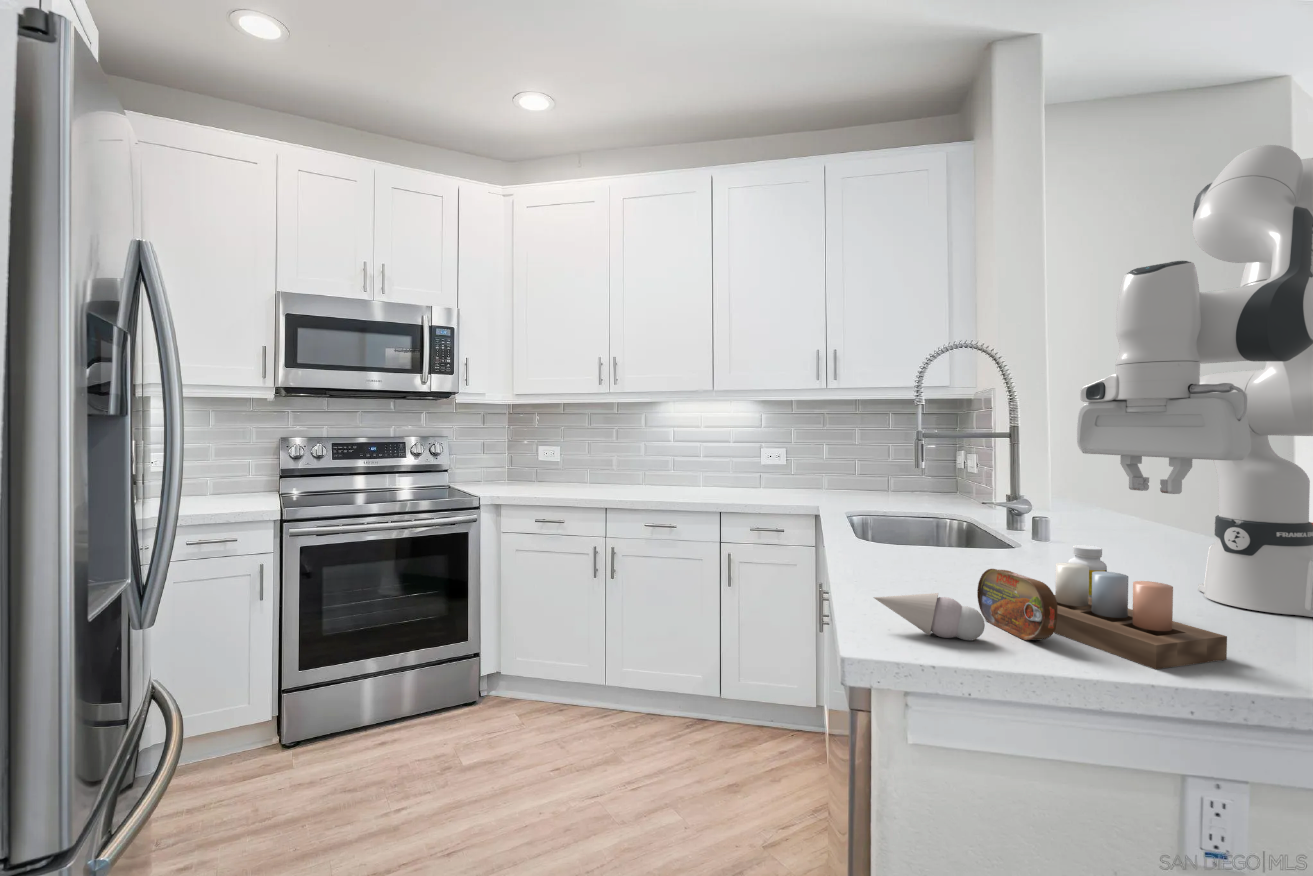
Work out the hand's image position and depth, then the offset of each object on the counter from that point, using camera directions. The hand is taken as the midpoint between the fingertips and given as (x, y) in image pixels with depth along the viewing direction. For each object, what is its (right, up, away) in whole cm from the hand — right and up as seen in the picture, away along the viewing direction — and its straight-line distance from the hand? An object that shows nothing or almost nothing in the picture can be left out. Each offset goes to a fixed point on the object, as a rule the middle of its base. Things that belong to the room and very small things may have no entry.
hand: (1154, 491), depth 86 cm
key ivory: (-3, -18, +12) cm, 21 cm away
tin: (-13, -21, +9) cm, 27 cm away
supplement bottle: (+5, -21, +22) cm, 31 cm away
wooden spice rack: (-2, -21, +6) cm, 22 cm away
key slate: (-2, -18, +6) cm, 19 cm away
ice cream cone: (-27, -21, +7) cm, 35 cm away
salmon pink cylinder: (0, -18, 0) cm, 18 cm away
